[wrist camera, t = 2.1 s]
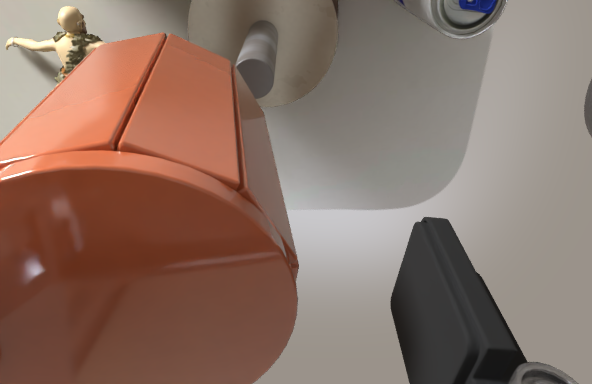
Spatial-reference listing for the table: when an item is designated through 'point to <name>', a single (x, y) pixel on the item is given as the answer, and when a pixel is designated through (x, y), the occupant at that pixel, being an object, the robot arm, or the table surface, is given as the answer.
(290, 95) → the towel holder
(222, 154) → the orange brown faceted cylinder
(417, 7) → the beverage can
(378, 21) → the table surface
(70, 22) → the figurine
